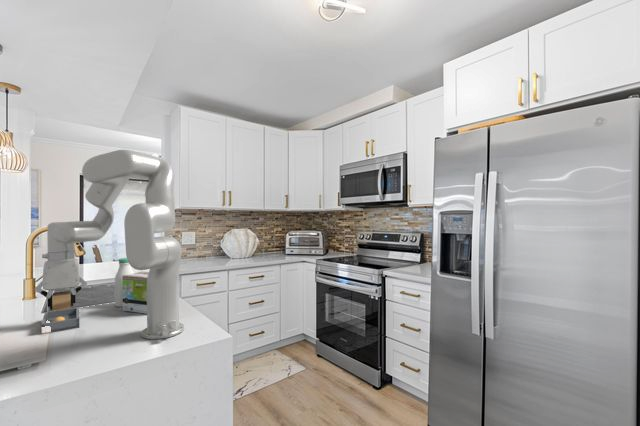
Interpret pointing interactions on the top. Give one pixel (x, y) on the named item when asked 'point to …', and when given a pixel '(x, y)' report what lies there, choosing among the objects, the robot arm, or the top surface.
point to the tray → (69, 322)
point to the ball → (59, 319)
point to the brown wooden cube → (61, 300)
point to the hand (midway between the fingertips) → (61, 306)
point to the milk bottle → (122, 271)
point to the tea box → (135, 292)
